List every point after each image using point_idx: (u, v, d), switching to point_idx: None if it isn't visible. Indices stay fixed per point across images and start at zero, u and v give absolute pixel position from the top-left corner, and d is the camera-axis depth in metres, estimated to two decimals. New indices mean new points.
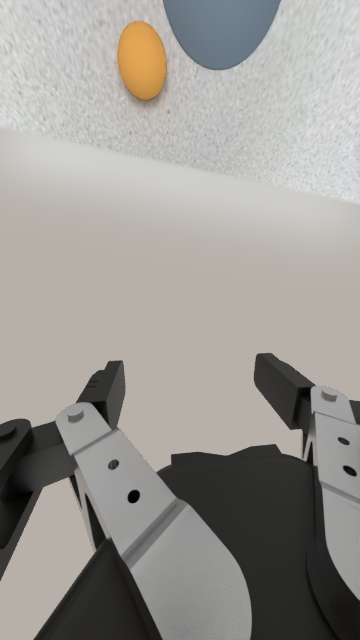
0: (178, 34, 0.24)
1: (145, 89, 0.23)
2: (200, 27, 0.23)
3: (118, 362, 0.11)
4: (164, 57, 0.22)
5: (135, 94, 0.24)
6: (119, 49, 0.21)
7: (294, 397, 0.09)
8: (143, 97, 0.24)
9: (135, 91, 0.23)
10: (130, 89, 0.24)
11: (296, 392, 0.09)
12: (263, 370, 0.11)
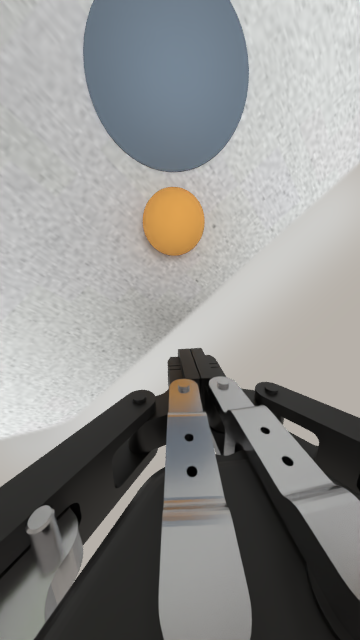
0: (174, 167, 0.19)
1: (197, 237, 0.17)
2: (187, 137, 0.18)
3: (188, 350, 0.12)
4: None
5: (187, 251, 0.18)
6: (152, 239, 0.17)
7: (200, 387, 0.09)
8: (196, 244, 0.18)
9: (187, 249, 0.18)
10: (181, 253, 0.18)
11: (201, 382, 0.09)
12: None
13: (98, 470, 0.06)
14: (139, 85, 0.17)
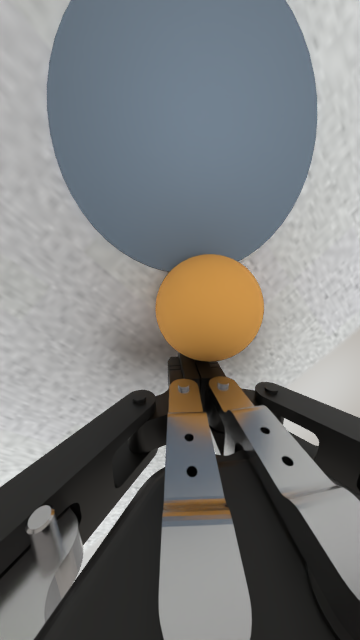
0: None
1: (262, 307, 0.09)
2: (218, 225, 0.12)
3: None
4: None
5: (247, 342, 0.09)
6: (180, 317, 0.08)
7: (200, 387, 0.09)
8: (258, 330, 0.10)
9: (250, 333, 0.09)
10: (238, 345, 0.09)
11: (201, 382, 0.09)
12: None
13: (98, 470, 0.06)
14: (142, 154, 0.11)
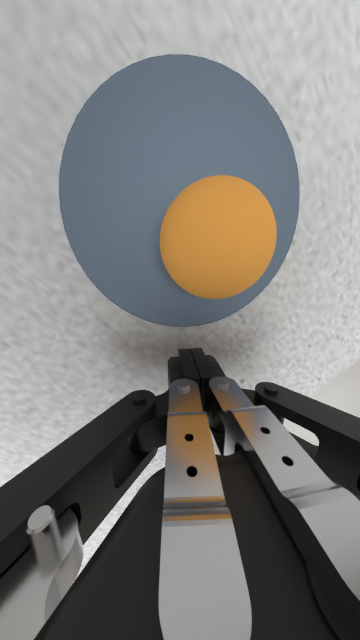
0: (190, 320, 0.14)
1: None
2: None
3: (188, 350, 0.12)
4: None
5: None
6: None
7: (200, 387, 0.09)
8: None
9: None
10: None
11: (201, 382, 0.09)
12: None
13: (98, 470, 0.06)
14: (142, 226, 0.12)
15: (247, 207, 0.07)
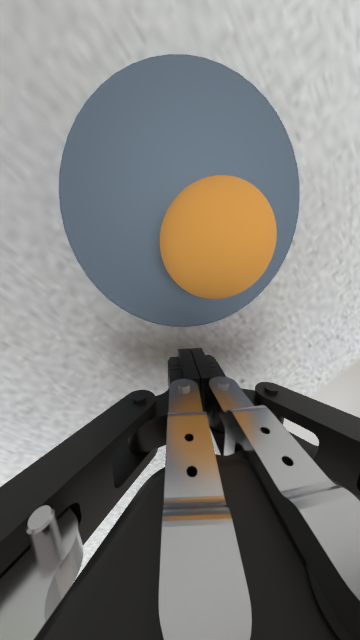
0: (190, 320, 0.14)
1: None
2: None
3: (188, 350, 0.12)
4: None
5: None
6: None
7: (200, 387, 0.09)
8: None
9: None
10: None
11: (201, 382, 0.09)
12: None
13: (98, 470, 0.06)
14: (142, 226, 0.12)
15: (247, 207, 0.07)
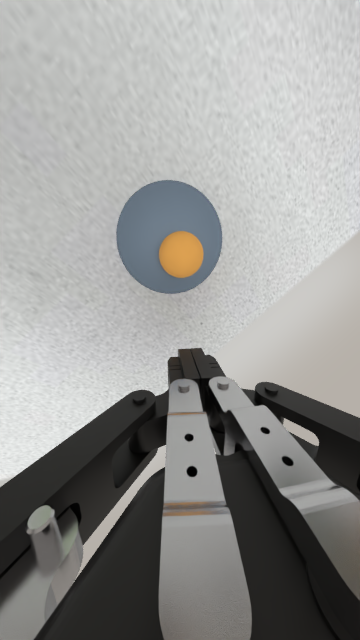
0: (174, 290, 0.29)
1: None
2: None
3: (188, 350, 0.12)
4: None
5: None
6: None
7: (200, 387, 0.09)
8: None
9: None
10: None
11: (201, 382, 0.09)
12: None
13: (98, 470, 0.06)
14: (151, 246, 0.27)
15: (187, 244, 0.22)
